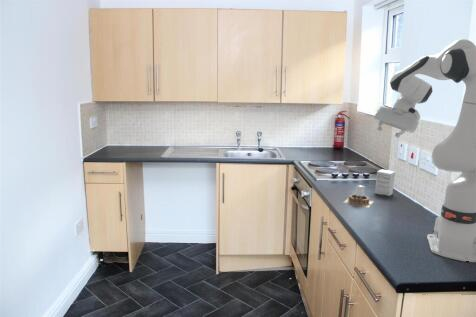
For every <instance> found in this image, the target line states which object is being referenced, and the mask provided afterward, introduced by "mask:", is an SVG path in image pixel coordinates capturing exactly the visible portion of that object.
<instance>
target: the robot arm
mask: <svg viewBox="0 0 476 317" xmlns="http://www.w3.org/2000/svg"><path fill="white" fill-rule="evenodd" d="M417 75H422V76H427V77H430V78H432V79H436V80H438V81H449V80H452V81H453V82H454V83H456V84H459V83H460V82H461V81H462V82H463V83H464V84H465V92H464V95H463V98H462V104H461V108H460V112H459V115H458V120H457V122H456V125H455V127H453V130H452V131H451V132H450V133H449V135H448V136H447V137H446V138H445V139H444V140H442V141H441V142H439V143H437V144H436V145H435V146H434V148H433V149H432V153H431V160H432V163H433V166H435V167H436V168H437V169H439V170H442V171H446V172H450V173H451V172H452V173H454V172H455V173H460V175H459V176H458V177H457V178H455V179H454V180H452V181H450V182H449V183H448V184H447V185H446V188H445V195H444V200H443V204H442V205H441V209H440V210H441V211H440V215H439V216H437V217H436V218H435V223H434V227H433V230H432V234H431V233H429V234H427V236H426V239H427V241H428V242H427V243H428V246H429V249H430V251H431V253H433V254H435V255H438V256H441V257H443V258H447V259H450V260H451V259H453V260H456V261H461V262H466V261H469V262H468V263H476V45H475V43H474V42H473V41H471V40H469V39H465V38H464V39H459V40H455V41H454V42H453V43H451V44H449V45H448V46H446V47H445V48H444V49H443V50H441V52H440V53H437V54H434V55H433V54H432V55H424V56H422V57H420V58H419V59H417V60H415V61H414V62H412V63H411V64H409V65H408V66H406V67H405V68H402V69H400V70H398V71H397V72H395V73H394V74H393V76H392V77H391V79H390V81H389V84H390V88H391V90H393V91H395V92H397V93H400V96H399V97H398V98H397V99H396V101H395V102H394V104H393V106H391V105H388V104H384V105H380V107H379V109H378V111H376V113H375V115H374V116H373V118H374V120H375V122H377V123H378V126H377V129H376V130H377V131H378V132H380V133H381V132H382V131H383V128H382V126H383V125H386V126H388V127H389V126H390V127H393V128H395V129H398V130H400V131H399V132H396V133H395V134H394V136H395V138H397V139H399V138H400V136H402V135H403V134H405V133H406V132H407V133H410V134H413V133H415V132H416V130H417V128H418V125H419V121H420V119H421V115H420V113H419V111H418V110H417V109H416V108H415V107H416V105H417V104H424V103H426V102H427V101H428V100H429V98H430V96H432V93H433V86H432V85H431V84H430V83H428V82H427V81H425V80H423V79H421V78H419V77H417Z"/></svg>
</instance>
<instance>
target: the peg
mask: <svg viewBox="0 0 476 317" xmlns="http://www.w3.org/2000/svg"><path fill="white" fill-rule="evenodd" d="M365 187H366V186H364V185H362V184H357V185H355V192H354V194H355V199H363V198H364V195H365Z"/></svg>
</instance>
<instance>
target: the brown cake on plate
mask: <svg viewBox="0 0 476 317" xmlns="http://www.w3.org/2000/svg"><path fill="white" fill-rule="evenodd" d="M370 198H371V197H369V196H367V195H365V194H364V198H363V199H355V193H352V194H349V195H348V198H346V199H345V200H344V201H343V202H342V203H343V204H346V205H347V204H348V205H351V206H355V207H356V206H357V207H361V208H370V207H371V206H372V205H373V203H374V200H371V199H370Z"/></svg>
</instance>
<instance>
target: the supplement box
mask: <svg viewBox="0 0 476 317" xmlns="http://www.w3.org/2000/svg"><path fill="white" fill-rule="evenodd" d="M395 176H396V171H394V170H388V169H379V170H378V171H376V178H375V180H376V181H375V189H374V194H377V195H380V196H381V195H382V196H388V197H390V196H392V195H393V193H394V192H393V190H394V184H395V178H396V177H395Z"/></svg>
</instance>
